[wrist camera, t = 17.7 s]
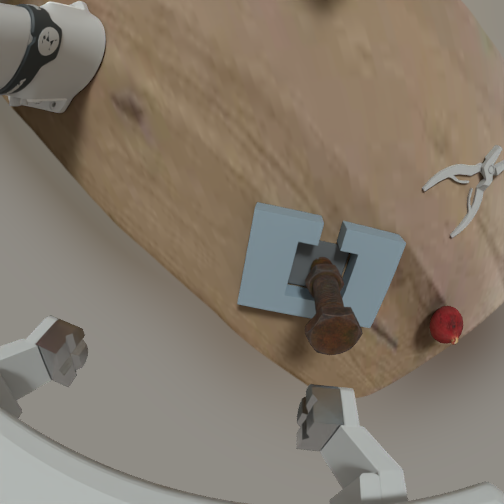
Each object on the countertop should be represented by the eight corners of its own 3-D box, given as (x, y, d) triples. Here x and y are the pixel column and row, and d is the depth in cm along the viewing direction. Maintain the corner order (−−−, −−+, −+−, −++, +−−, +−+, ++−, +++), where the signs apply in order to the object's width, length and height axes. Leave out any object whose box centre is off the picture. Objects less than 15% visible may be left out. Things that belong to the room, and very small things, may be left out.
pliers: (424, 188, 34) (491, 126, 29) (420, 186, 35) (485, 125, 30) (455, 241, 36) (516, 181, 31) (450, 237, 38) (510, 179, 32)
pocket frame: (240, 292, 45) (237, 304, 42) (257, 202, 39) (254, 208, 36) (366, 316, 44) (370, 327, 42) (398, 234, 38) (406, 243, 36)
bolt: (343, 249, 40) (368, 315, 26) (339, 281, 42) (358, 354, 29) (301, 248, 41) (307, 315, 27) (299, 281, 43) (303, 355, 29)
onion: (426, 299, 42) (445, 330, 35) (455, 294, 41) (476, 323, 34) (421, 327, 44) (436, 359, 37) (448, 322, 43) (466, 351, 36)
